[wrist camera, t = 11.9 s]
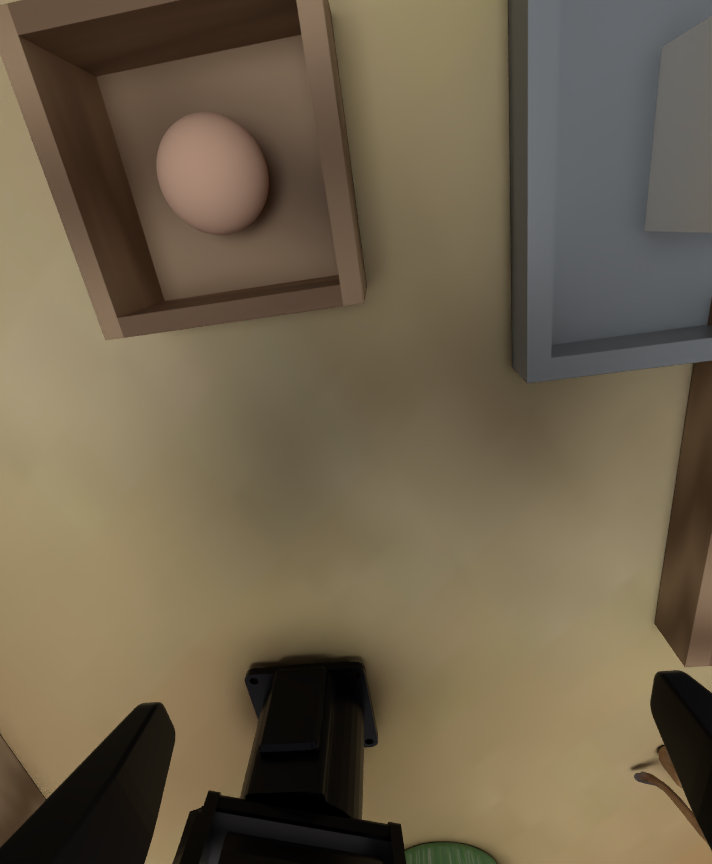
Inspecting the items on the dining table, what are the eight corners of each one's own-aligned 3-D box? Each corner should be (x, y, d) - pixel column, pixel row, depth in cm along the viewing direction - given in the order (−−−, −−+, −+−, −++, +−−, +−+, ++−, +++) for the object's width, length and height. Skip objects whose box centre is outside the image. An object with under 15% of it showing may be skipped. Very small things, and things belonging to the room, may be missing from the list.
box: (366, 286, 17) (363, 302, 13) (161, 316, 18) (105, 340, 14) (330, 10, 14) (313, -66, 10) (82, 62, 15) (-17, 9, 11)
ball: (287, 226, 16) (266, 226, 13) (197, 240, 16) (157, 244, 13) (266, 115, 14) (238, 88, 12) (169, 133, 15) (118, 111, 12)
